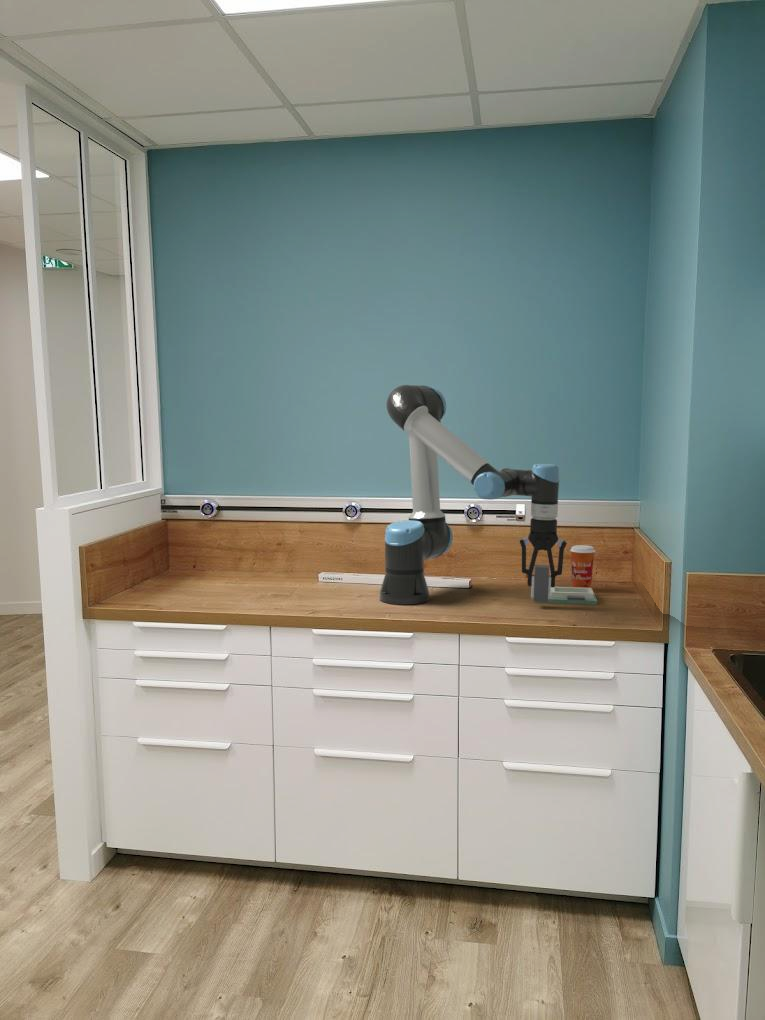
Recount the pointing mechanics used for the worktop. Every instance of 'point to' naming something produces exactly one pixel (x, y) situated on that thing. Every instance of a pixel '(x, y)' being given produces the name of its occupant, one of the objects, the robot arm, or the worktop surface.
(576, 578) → the paper cup
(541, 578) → the plug
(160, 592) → the worktop surface
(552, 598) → the board
